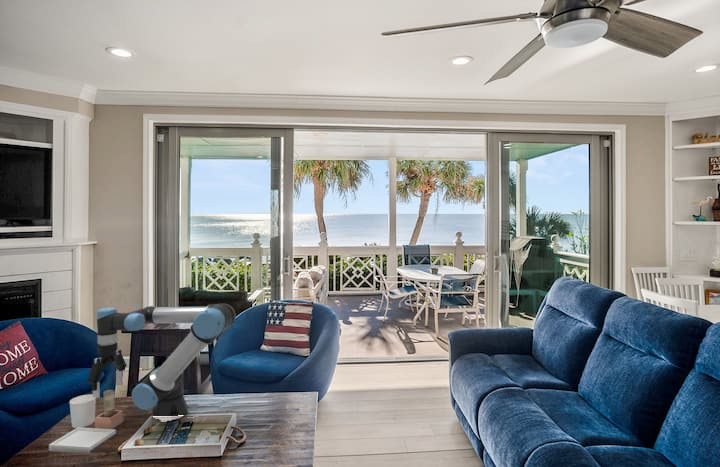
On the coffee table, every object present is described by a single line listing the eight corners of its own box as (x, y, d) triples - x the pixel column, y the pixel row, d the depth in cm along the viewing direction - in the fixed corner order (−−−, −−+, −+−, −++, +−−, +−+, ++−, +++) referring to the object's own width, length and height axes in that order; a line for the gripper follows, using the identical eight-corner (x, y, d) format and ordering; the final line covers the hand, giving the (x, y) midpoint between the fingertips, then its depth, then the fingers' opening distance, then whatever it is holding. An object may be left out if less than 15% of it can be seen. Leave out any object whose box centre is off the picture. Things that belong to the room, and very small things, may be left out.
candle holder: (83, 431, 175) (82, 404, 174) (64, 429, 177) (63, 402, 176) (101, 421, 184) (101, 395, 184) (83, 419, 186) (83, 393, 186)
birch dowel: (117, 423, 180) (116, 389, 180) (110, 427, 176) (109, 393, 176) (108, 422, 180) (108, 389, 180) (102, 427, 176) (101, 393, 176)
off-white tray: (116, 435, 171) (116, 429, 171) (89, 453, 157) (89, 447, 157) (78, 433, 173) (78, 427, 173) (49, 450, 160) (48, 444, 160)
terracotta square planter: (123, 423, 181) (123, 410, 181) (111, 432, 174) (110, 418, 174) (108, 422, 182) (108, 409, 182) (95, 431, 175) (94, 417, 175)
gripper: (120, 335, 190) (120, 380, 191) (76, 351, 166) (77, 402, 166) (134, 335, 189) (135, 380, 190) (92, 352, 165) (93, 403, 165)
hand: (108, 391), depth 178 cm, fingers open, 13 cm apart
